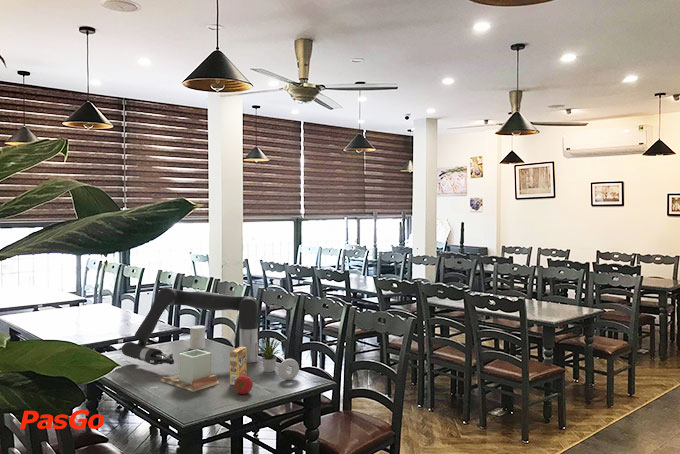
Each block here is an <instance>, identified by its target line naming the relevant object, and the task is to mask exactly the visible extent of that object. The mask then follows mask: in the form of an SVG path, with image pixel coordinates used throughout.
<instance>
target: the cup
mask: <svg viewBox="0 0 680 454" xmlns="http://www.w3.org/2000/svg"><path fill="white" fill-rule="evenodd" d="M189 329H190V331H189V337H190V338H189V341H190V342H189V343H190V344H189V346H190V347H189V348H190V349H191V350H196V349H198V350H203V349H205V348H206V326H205V325H192V326H190V327H189Z"/></svg>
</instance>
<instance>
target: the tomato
mask: <svg viewBox="0 0 680 454" xmlns="http://www.w3.org/2000/svg"><path fill="white" fill-rule="evenodd" d="M253 386H254V385H253V380H252V378H251V377H250V376H249V375H247V376H245V375H242V376H239V377H238V378H237V379H236V380H235V384H234V390H235V392H237V393H238V394H241V395H246V394H249V392H251V391H252V388H253Z"/></svg>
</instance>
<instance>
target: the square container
mask: <svg viewBox="0 0 680 454" xmlns="http://www.w3.org/2000/svg"><path fill="white" fill-rule="evenodd" d="M178 374H179V381H180V382H183V383H186V384H190V385H192V381H194V380H197V379H201V378H204V377H208V376H211V375H212V353H211V352H210V351H205V350H203V349H199V350H198V349H196V350H193V349H191V350H189V351H185V352H180V353H178Z"/></svg>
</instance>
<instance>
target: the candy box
mask: <svg viewBox="0 0 680 454" xmlns="http://www.w3.org/2000/svg"><path fill="white" fill-rule="evenodd" d="M246 354H247V353H246V347H240V346H238V347H236V348H234V349H232V350H230V351H229V385H231V386H232V385H234V384H235V380H236V379H237V378H238V377H239V376H242V375H245V376H248V375H247V370H248V369H247V366H248V363H247V355H246ZM234 386H235V385H234Z"/></svg>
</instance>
